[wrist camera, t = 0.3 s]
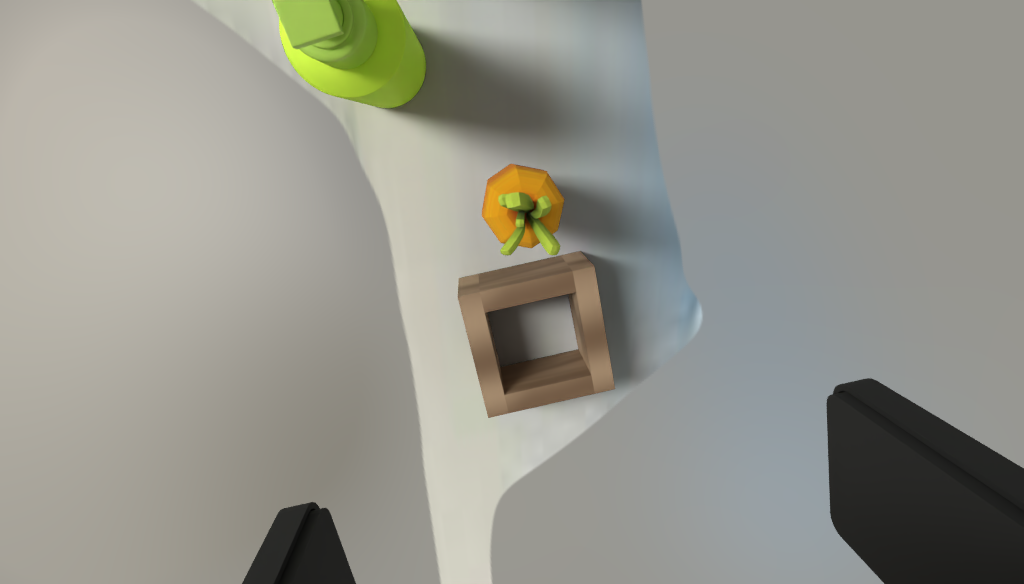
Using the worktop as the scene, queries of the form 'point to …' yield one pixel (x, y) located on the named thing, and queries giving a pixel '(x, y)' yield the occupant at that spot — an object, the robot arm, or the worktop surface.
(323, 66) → the soap dispenser
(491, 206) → the carrot
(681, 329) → the worktop surface
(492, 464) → the worktop surface
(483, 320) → the holder
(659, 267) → the worktop surface
